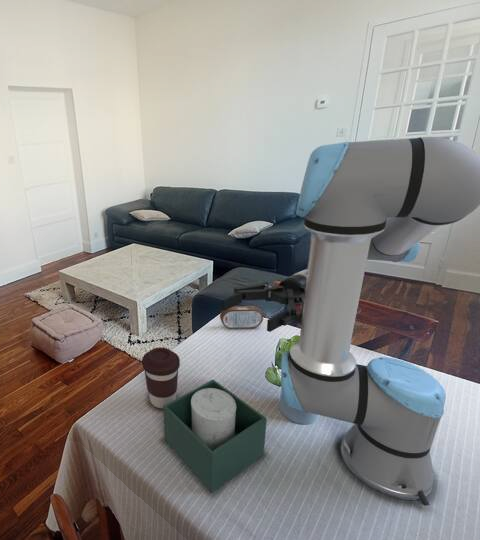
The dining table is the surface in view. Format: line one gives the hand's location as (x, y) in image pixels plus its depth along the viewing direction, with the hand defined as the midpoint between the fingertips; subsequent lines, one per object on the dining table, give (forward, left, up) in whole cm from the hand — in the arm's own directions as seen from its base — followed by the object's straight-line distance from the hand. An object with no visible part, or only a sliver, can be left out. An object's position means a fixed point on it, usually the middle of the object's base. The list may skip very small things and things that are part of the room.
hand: (244, 315), depth 79 cm
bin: (-5, +15, -28) cm, 32 cm away
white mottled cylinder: (-5, +14, -27) cm, 31 cm away
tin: (+27, -31, -28) cm, 50 cm away
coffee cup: (+14, +15, -28) cm, 34 cm away
